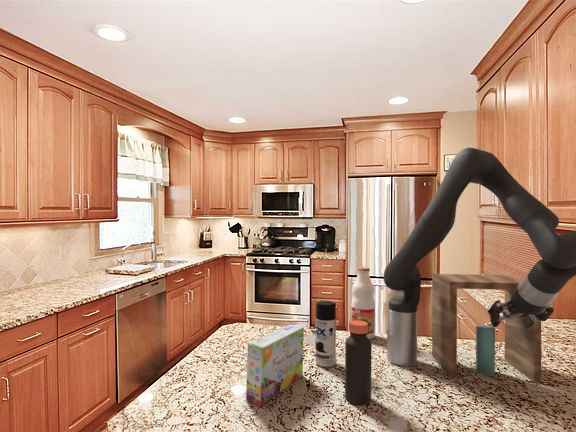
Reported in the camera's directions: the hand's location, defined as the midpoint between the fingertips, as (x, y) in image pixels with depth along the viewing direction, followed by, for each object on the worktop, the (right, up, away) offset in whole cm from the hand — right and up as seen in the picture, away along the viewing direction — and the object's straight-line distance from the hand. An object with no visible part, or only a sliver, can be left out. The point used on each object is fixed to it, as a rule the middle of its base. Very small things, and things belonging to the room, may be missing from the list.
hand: (509, 324), depth 97 cm
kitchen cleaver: (-52, -19, +42) cm, 69 cm away
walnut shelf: (0, -18, +13) cm, 23 cm away
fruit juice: (-32, -19, +44) cm, 57 cm away
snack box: (-65, -18, 0) cm, 68 cm away
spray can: (-50, -18, +16) cm, 56 cm away
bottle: (-44, -18, -6) cm, 48 cm away
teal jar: (0, -18, +11) cm, 22 cm away
